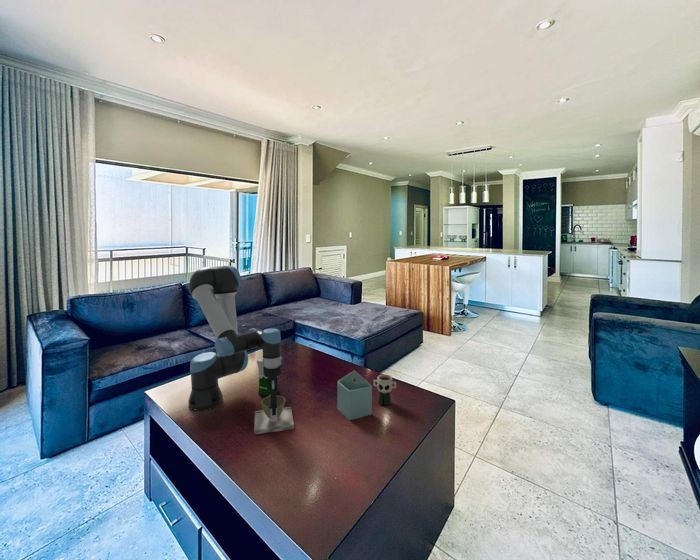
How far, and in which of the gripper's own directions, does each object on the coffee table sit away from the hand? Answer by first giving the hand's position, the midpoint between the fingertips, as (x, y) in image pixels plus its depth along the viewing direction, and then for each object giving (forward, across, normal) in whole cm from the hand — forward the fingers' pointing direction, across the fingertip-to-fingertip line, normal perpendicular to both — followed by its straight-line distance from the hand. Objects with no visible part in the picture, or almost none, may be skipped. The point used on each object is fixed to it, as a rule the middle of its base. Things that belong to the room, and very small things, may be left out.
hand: (273, 414), depth 143 cm
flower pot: (+1, 0, 0) cm, 1 cm away
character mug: (+3, +3, -52) cm, 52 cm away
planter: (+3, -4, -34) cm, 34 cm away
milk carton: (+3, +28, +2) cm, 28 cm away
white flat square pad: (+3, 0, 0) cm, 3 cm away
